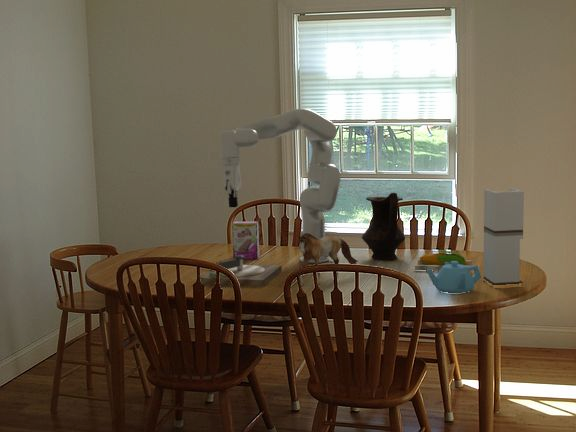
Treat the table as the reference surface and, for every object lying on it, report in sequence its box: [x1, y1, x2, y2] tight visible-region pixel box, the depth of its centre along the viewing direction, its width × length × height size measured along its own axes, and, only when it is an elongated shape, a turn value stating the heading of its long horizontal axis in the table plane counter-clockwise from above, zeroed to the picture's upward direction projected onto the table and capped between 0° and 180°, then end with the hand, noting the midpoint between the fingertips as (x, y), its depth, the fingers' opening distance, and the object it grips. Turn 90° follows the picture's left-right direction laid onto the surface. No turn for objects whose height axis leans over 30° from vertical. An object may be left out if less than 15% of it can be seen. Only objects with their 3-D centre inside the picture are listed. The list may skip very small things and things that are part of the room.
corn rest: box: [414, 258, 473, 272], centre depth 324 cm, size 22×12×2 cm, turn 75°
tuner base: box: [199, 263, 283, 287], centre depth 320 cm, size 27×26×4 cm
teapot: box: [426, 261, 483, 293], centre depth 288 cm, size 15×15×11 cm
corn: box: [419, 250, 467, 266], centre depth 324 cm, size 7×8×20 cm
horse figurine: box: [297, 233, 359, 286], centre depth 309 cm, size 31×8×21 cm, turn 133°
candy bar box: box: [231, 221, 260, 260], centre depth 355 cm, size 11×5×16 cm, turn 84°
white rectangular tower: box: [483, 187, 525, 285], centre depth 294 cm, size 11×11×35 cm
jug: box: [361, 192, 406, 262], centre depth 343 cm, size 21×18×30 cm
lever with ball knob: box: [218, 255, 244, 270], centre depth 316 cm, size 12×4×6 cm, turn 136°
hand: (233, 206), depth 323 cm, fingers closed
